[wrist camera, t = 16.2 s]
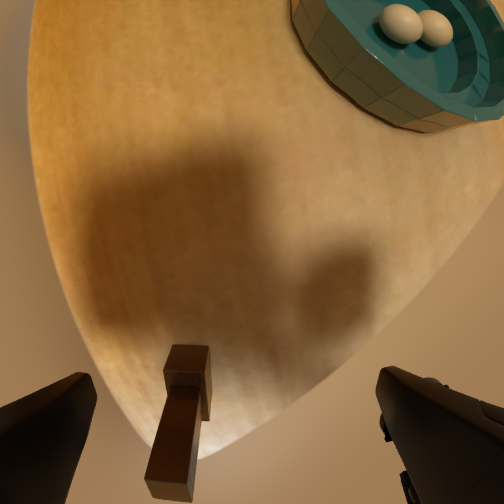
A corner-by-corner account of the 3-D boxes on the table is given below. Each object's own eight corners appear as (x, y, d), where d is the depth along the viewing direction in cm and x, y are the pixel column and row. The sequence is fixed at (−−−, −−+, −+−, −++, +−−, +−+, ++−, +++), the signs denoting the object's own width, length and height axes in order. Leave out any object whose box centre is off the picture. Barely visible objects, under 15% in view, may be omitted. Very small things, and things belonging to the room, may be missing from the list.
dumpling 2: (456, 57, 13) (454, 30, 11) (418, 53, 15) (411, 27, 12) (451, 30, 13) (447, 3, 10) (415, 27, 15) (407, 1, 12)
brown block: (212, 393, 19) (202, 513, 9) (178, 392, 19) (151, 507, 9) (208, 345, 18) (191, 470, 8) (172, 344, 18) (129, 462, 8)
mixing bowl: (482, 150, 16) (533, 147, 11) (293, 114, 16) (318, 82, 10) (451, -3, 13) (483, -26, 8) (285, -53, 12) (296, -97, 7)
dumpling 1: (371, 39, 14) (410, 57, 14) (388, 16, 11) (431, 38, 11) (374, 12, 14) (411, 29, 14) (389, -11, 11) (430, 10, 11)
